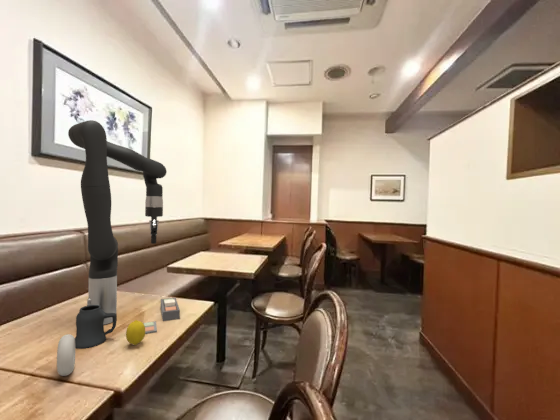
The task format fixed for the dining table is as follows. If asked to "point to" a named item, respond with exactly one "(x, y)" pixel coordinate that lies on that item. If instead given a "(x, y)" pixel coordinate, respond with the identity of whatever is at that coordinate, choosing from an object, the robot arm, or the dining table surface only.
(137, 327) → the lemon
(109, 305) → the robot arm
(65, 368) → the donut
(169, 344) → the dining table surface
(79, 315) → the mug
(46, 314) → the dining table surface
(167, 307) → the key terracotta
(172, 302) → the key cream
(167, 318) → the keypad
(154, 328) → the tile
